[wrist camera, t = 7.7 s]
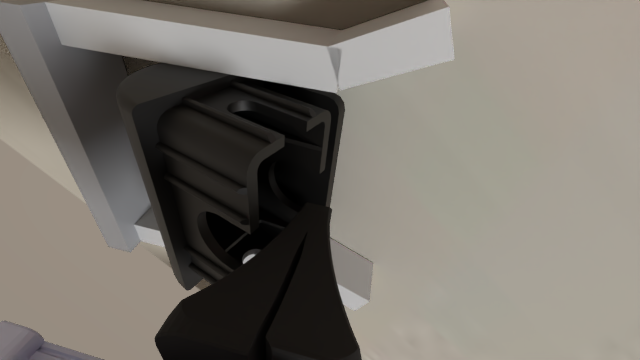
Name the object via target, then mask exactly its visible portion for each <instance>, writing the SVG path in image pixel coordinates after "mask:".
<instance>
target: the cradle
mask: <svg viewBox="0 0 640 360" xmlns="http://www.w3.org/2000/svg"><path fill="white" fill-rule="evenodd" d="M0 34H1V36H2V38H3V40H4V42H5V43H6V45H7V47H8V49H9V51H10V53H11V55H12V57H13V59H14V61H15V63H16V65H17V67H18V69H19V71H20V73H21V75H22V77H23V79H24V81H25V83H26V85H27V87H28V89H29V91H30V93H31V95H32V97H33V99H34V101H35V103H36V105H37V107H38V109H39V111H40V113H41V114H42V116H43V118H44V120H45V122H46V124H47V126H48V128H49V130H50V132H51V134H52V136H53V138H54V140H55V142H56V144H57V146H58V148H59V150H60V152H61V154H62V156H63V158H64V160H65V162H66V164H67V166H68V168H69V170H70V172H71V174H72V176H73V178H74V180H75V182H76V184H77V185H78V187H79V189H80V191H81V193H82V195H83V197H84V199H85V201H86V203H87V205H88V207H89V209H90V211H91V213H92V215H93V217H94V219H95V221H96V223H97V225H98V227H99V229H100V231H101V233H102V235H103V237H104V239H105V241H106V243H107V244H108V246H109V247H112V248H116V249H120V250H123V251H127V252H131V251H132V250H133V249H134V248H135V247H136V246H137V245H138V243H139V242H140V241H142V242H146V243H150V244H154V245H158V246H162V247H165V245H164V242H163V239H162V236H161V233H160V230H159V227H158V224H157V221H156V218H155V215H154V212H153V209H152V206H151V203H150V200H149V197H148V194H147V191H146V188H145V185H144V182H143V179H142V176H141V173H140V170H139V167H138V164H137V161H136V158H135V155H134V152H133V149H132V146H131V143H130V140H129V137H128V134H127V131H126V128H125V125H124V122H123V119H122V116H121V113H120V110H119V107H118V104H117V99H116V91H117V89H118V86H119V84H120V83H121V82H122V81H123V80H124V79H125V78H126V77H127V76H128V75H127V72H126V68H125V65H124V61H123V58H122V56H128V57H134V58H139V59H145V60H151V61H156V62H162V63H168V64H173V65H179V66H185V67H190V68H196V69H202V70H208V71H213V72H219V73H225V74H230V75H236V76H242V77H247V78H253V79H259V80H264V81H270V82H276V83H281V84H287V85H293V86H299V87H304V88H310V89H316V90H321V91H327V92H333V93H337V91H338V89H340V90H343V89H347V88H351V87H355V86H358V85H362V84H366V83H369V82H373V81H377V80H381V79H384V78H388V77H392V76H395V75H399V74H403V73H407V72H410V71H414V70H418V69H421V68H425V67H429V66H432V65H436V64H440V63H444V62H447V61H451V60H455V58H454V48H453V39H452V29H451V19H450V10H449V6H448V5H447V4H446V2H445V1H444V0H428V1H425V2H422V3H419V4H416V5H414V6H411V7H408V8H405V9H402V10H399V11H396V12H393V13H390V14H387V15H385V16H382V17H379V18H376V19H373V20H370V21H367V22H364V23H361V24H359V25H356V26H353V27H350V28H347V29H344V30H337V29H330V28H323V27H317V26H310V25H303V24H297V23H290V22H283V21H277V20H270V19H264V18H257V17H250V16H244V15H237V14H230V13H224V12H217V11H210V10H204V9H197V8H190V7H184V6H177V5H170V4H164V3H157V2H150V1H144V0H0ZM330 245H331V254H332V260H333V266H334V272H335V276H336V281H337V285H338V289H339V292H340V296H341V299H342V302H343V305H345V306H347V307H349V308H350V309H352V310H354V311H356V310H357V309H359V308H360V307H362V306H363V305H365V304H366V303H368V302H369V300H370V290H371V280H372V270H373V263H372V262H370V261H369V260H367V259H365V258H364V257H362V256H360V255H358V254H357V253H355V252H353V251H352V250H350V249H348V248H346V247H345V246H343V245H341V244H340V243H338V242H336V241H335V240H333V239H331V238H330ZM255 255H256V254H251V255H249V256H247V257H246V258H245V259H244V261H243V264H244V263H246V262H247V261H248V260H250V259H251V258H252V257H254V256H255Z"/></svg>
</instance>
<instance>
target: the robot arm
mask: <svg viewBox="0 0 640 360" xmlns="http://www.w3.org/2000/svg"><path fill="white" fill-rule="evenodd" d="M331 213H332V209H331V208H330V207H326V206H322V205H317V204H313V203H308V202H307V203H305V204H304V206H303V207H302V208H301V210H300V211H299V212H298V214H297V215H296V216H295V217H294V218H293V219H292V221H291V222H290V223H289V224H288V225H287V226H286V227H285V228H284V229H283V230H282V231H281V232H280V233H279V234H278V235H277V236H276V237H275V238H274V239H273V240H272V241H271V242H270V243H269V244H268V245H267V246H266V247H264V248H263V249H262V250H261V251H260V252H259V253H257V254H256V255H255V256H254V257H252V258H251V259H250V260H248V261H247V262H246V263H244V264H243V265H241V266H240V267H239V268H237V269H236V270H234V271H233V272H231V273H230V274H228V275H227V276H225V277H223V278H222V279H220V280H218V281H217V282H215V283H213V284H212V285H210V286H208V287H206V288H204V289H202V290H201V291H199V292H197V293H195V294H193V295H191V296H189V297H187V298H185V299H183V300H182V301H181V302H180V303H179V304H178V305H177V306H176V308H175V309H174V310H173V311H172V313H171V314H170V315H169V316H168V318H167V319H166V321H165V322H164V324H163V325H162V327H161V329H160V330H159V332H158V333H157V335H156V337H155V342H156V346H157V348H158V350H159V352H160V354H161V356H162V358H163V360H362V359H361V354H360V348H359V345H358V343H357V341H356V338H355V336H354V333H353V331H352V328H351V326H350V323H349V320H348V318H347V315H346V312H345V309H344V305H343V302H342V299H341V296H340V292H339V289H338V285H337V281H336V276H335V272H334V266H333V260H332V254H331V245H330V219H331ZM0 360H104V359H100V358H97V357H94V356H91V355H87V354H84V353H81V352H78V351H75V350H71V349H68V348H65V347H62V346H59V345H55V344H52V343H49V342H46V341H44V339H43V337H42V336H41V335H40V334H39V333H37V332H36V331H34V330H32V329H30V328H27V327H24V326H21V325H18V324H15V323H11V322H8V321H1V322H0Z"/></svg>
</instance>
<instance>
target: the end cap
mask: <svg viewBox="0 0 640 360" xmlns="http://www.w3.org/2000/svg"><path fill="white" fill-rule="evenodd" d="M116 99H117V104H118V107H119V110H120V113H121V116H122V119H123V122H124V125H125V128H126V131H127V134H128V137H129V140H130V143H131V146H132V149H133V152H134V155H135V158H136V161H137V164H138V167H139V170H140V173H141V176H142V179H143V182H144V185H145V188H146V191H147V194H148V197H149V200H150V203H151V206H152V209H153V212H154V215H155V218H156V221H157V224H158V227H159V230H160V233H161V236H162V239H163V242H164V245H165V248H166V251H167V254H168V257H169V260H170V263H171V266H172V269H173V272H174V275H175V276H176V278H177V280H178V282H179V283H180V284H181V285H182V286H183V287H184V288H185V289H186V290H190V289H192V288H193V287H194V286H195V285H196V284H197V283H199V282H200V281H201V280H202V279H205V280H206V281H207V282H209V283H210V284H213V283H215V282H217V281H218V280H220V279H222V278H223V277H225V276H227V275H228V274H230V273H231V272H233V271H234V270H236V269H237V268H239V267H240V266H241V265H243V261H244V259H245V258H246V257H247V256H249V255H251V254H257V253H259V252H260V251H261V250H262V249H263V248H264V247H266V246H267V245H268V244H269V243H270V242H271V241H272V240H273V239H274V238H275V237H276V236H277V235H278V234H279V233H280V232H281V231H282V230H283V229H284V228H285V227H286V226H287V225H288V224H289V223H290V222H291V221H292V219H293V218H294V217H295V216H296V215H297V214H298V212H299V211H300V210H301V208H302V207H303V206H304V204H305V203H307V202H308V203H313V204H317V205H322V206H326V207H330V202H331V196H332V190H333V183H334V177H335V170H336V164H337V157H338V151H339V144H340V138H341V131H342V125H343V118H344V112H345V107H344V102H343V100H342V99H341V97H340V96H338V95H337V94H335V93H333V92H327V91H321V90H316V89H310V88H304V87H299V86H293V85H287V84H281V83H276V82H270V81H264V80H259V79H253V78H247V77H242V76H236V75H230V74H225V73H219V72H213V71H208V70H202V69H196V68H190V67H185V66H179V65H173V64H168V63H159V64H156V65H152V66H148V67H146V68H143V69H141V70H138V71H136V72H134V73H132V74H131V75H129V76H127V77H126V78H125V79H124V80H123V81H122V82H121V83H120V84H119V86H118V89H117V91H116Z"/></svg>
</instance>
